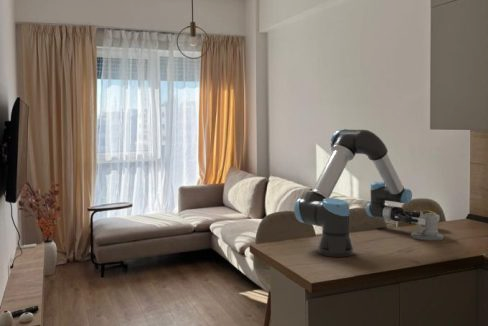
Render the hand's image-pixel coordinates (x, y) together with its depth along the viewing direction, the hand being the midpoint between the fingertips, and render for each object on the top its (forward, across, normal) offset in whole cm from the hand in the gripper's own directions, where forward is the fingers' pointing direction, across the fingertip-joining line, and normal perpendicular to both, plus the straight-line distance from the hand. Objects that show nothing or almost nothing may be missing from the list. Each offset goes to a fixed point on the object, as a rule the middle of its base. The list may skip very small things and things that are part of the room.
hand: (432, 220), depth 226 cm
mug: (-2, 0, -8) cm, 8 cm away
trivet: (-2, 0, -9) cm, 9 cm away
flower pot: (-13, -16, -9) cm, 23 cm away
